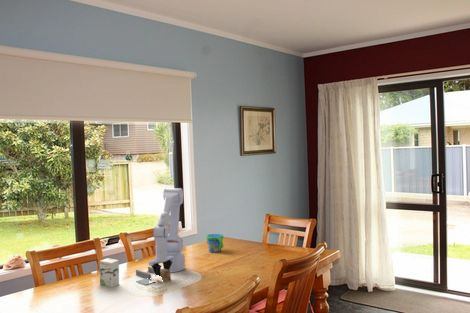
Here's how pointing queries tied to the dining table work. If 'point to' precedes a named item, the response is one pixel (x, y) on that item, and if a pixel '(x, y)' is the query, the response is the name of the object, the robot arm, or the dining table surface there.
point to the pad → (144, 281)
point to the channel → (145, 273)
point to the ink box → (109, 272)
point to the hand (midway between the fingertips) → (162, 276)
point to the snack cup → (215, 242)
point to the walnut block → (165, 274)
